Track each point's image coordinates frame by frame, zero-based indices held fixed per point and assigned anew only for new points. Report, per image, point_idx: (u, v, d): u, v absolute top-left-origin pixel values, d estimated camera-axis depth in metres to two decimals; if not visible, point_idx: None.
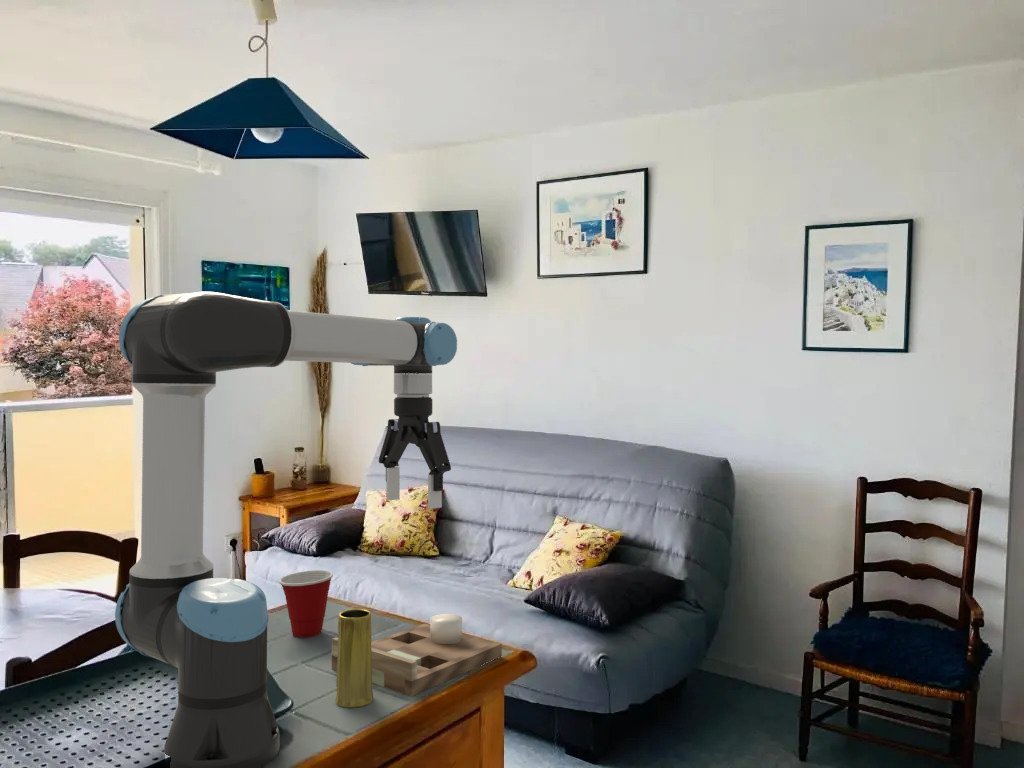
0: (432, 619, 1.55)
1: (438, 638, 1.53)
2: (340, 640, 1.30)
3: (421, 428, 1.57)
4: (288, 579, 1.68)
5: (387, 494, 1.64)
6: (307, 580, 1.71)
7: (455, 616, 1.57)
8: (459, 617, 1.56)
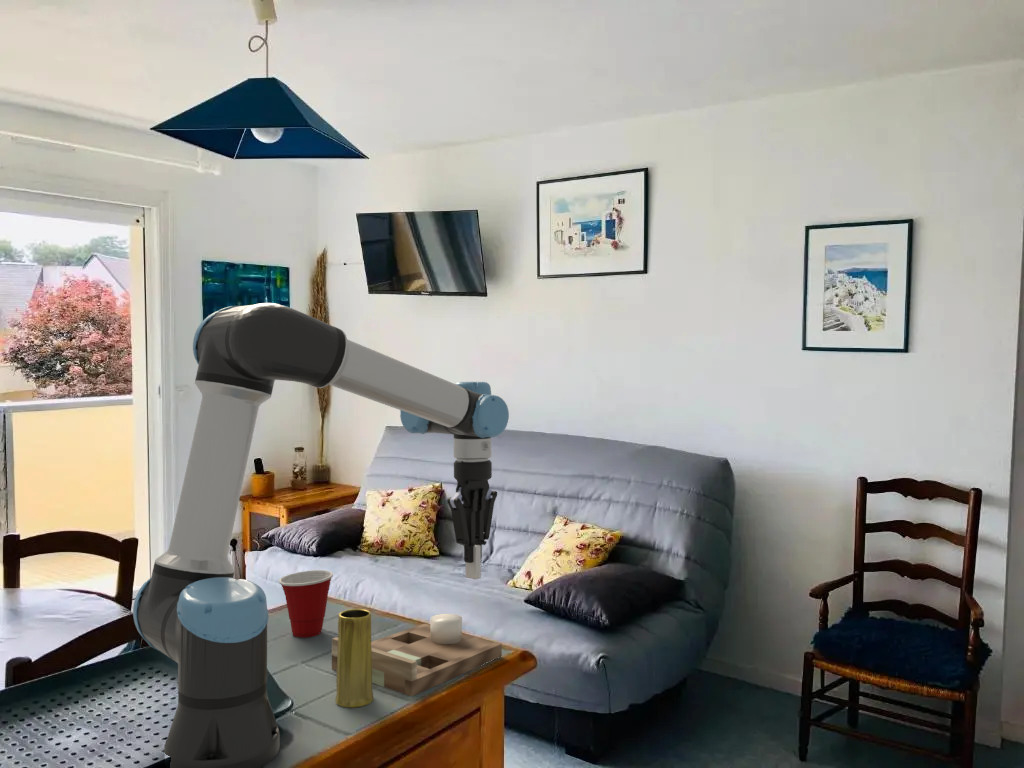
0: (432, 619, 1.55)
1: (438, 638, 1.53)
2: (340, 640, 1.30)
3: None
4: (288, 579, 1.68)
5: None
6: (307, 580, 1.71)
7: (455, 616, 1.57)
8: (459, 617, 1.56)
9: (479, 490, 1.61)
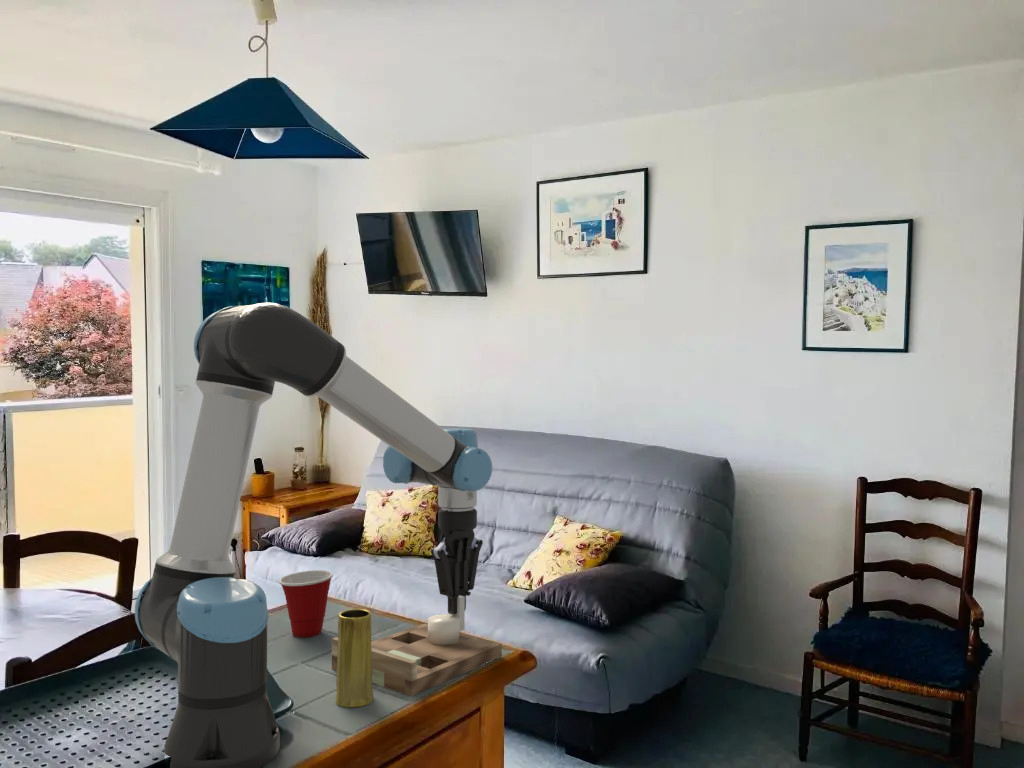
0: (429, 619, 1.54)
1: (435, 639, 1.53)
2: (340, 640, 1.30)
3: None
4: (288, 579, 1.68)
5: None
6: (307, 580, 1.71)
7: (453, 617, 1.56)
8: (457, 618, 1.56)
9: (464, 540, 1.58)
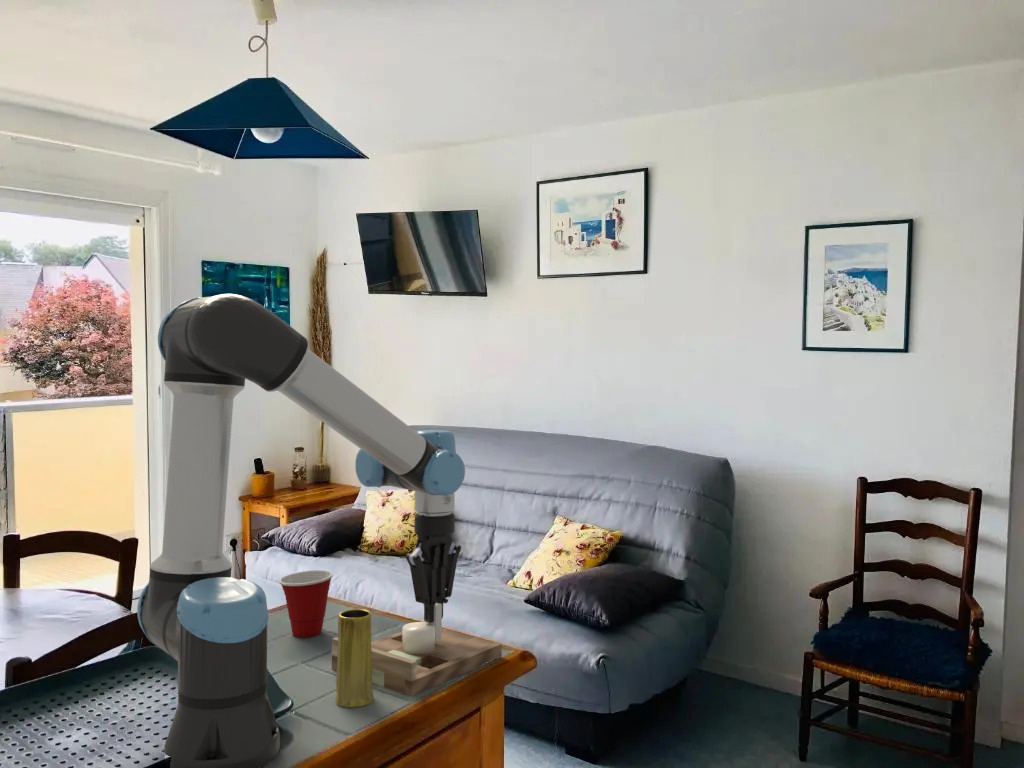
0: (404, 627, 1.50)
1: (408, 648, 1.48)
2: (340, 640, 1.30)
3: None
4: (288, 579, 1.68)
5: None
6: (307, 580, 1.71)
7: (429, 625, 1.51)
8: (432, 626, 1.50)
9: (441, 545, 1.53)
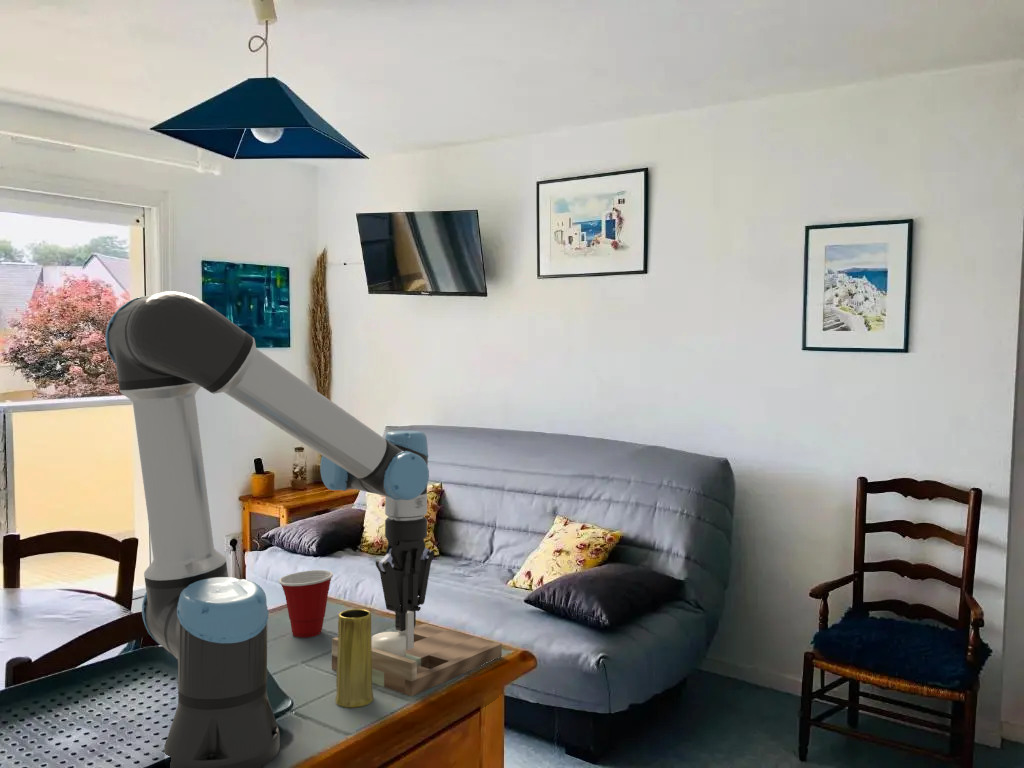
0: (373, 637, 1.44)
1: None
2: (340, 640, 1.30)
3: None
4: (288, 579, 1.68)
5: None
6: (307, 580, 1.71)
7: (400, 635, 1.45)
8: (403, 636, 1.45)
9: (413, 551, 1.47)
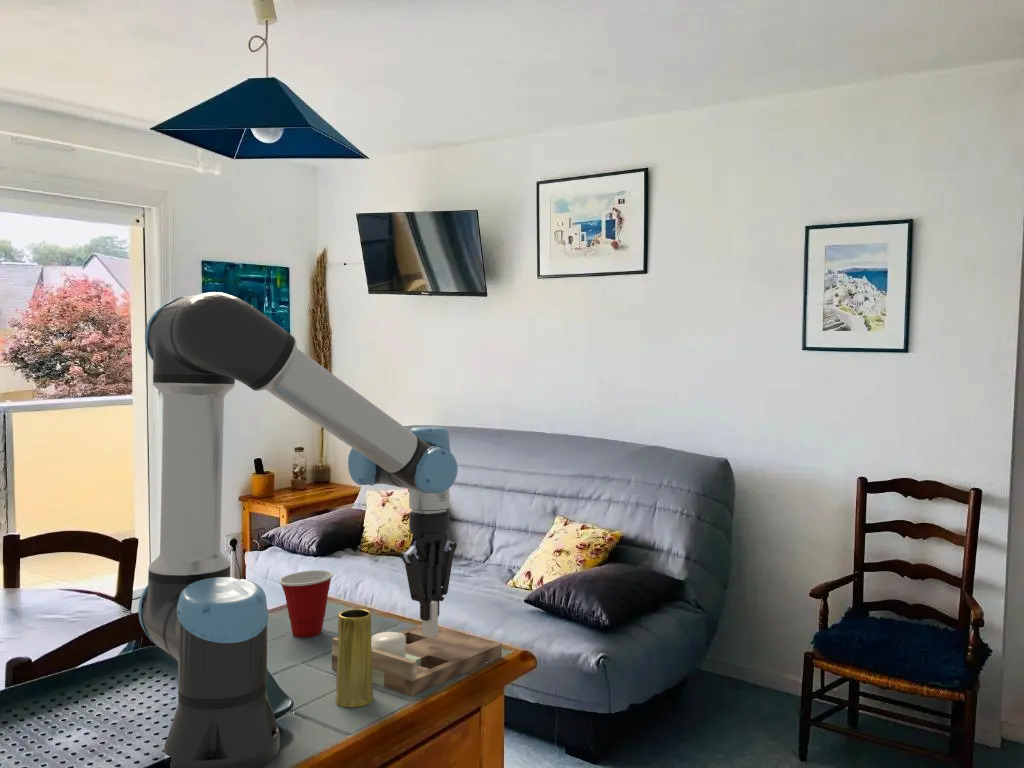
0: (373, 637, 1.44)
1: None
2: (340, 640, 1.30)
3: None
4: (288, 579, 1.68)
5: None
6: (307, 580, 1.71)
7: (399, 635, 1.45)
8: (403, 636, 1.44)
9: (436, 543, 1.51)
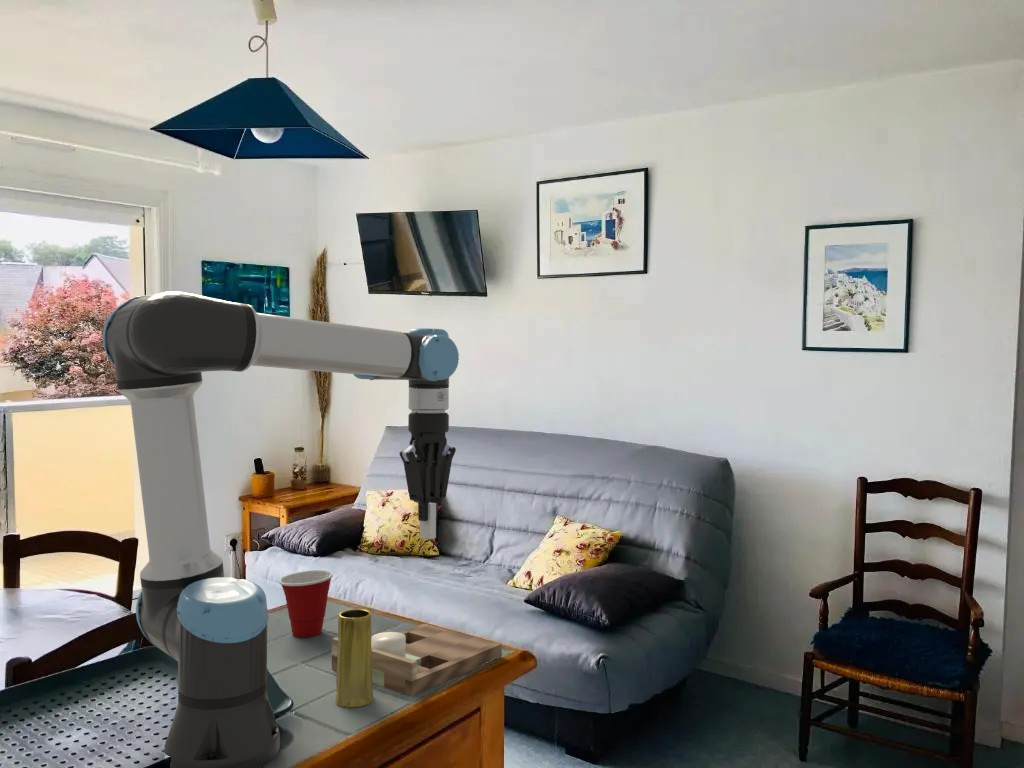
0: (373, 637, 1.44)
1: None
2: (340, 640, 1.30)
3: None
4: (288, 579, 1.68)
5: None
6: (307, 580, 1.71)
7: (399, 635, 1.45)
8: (403, 636, 1.44)
9: (435, 444, 1.52)
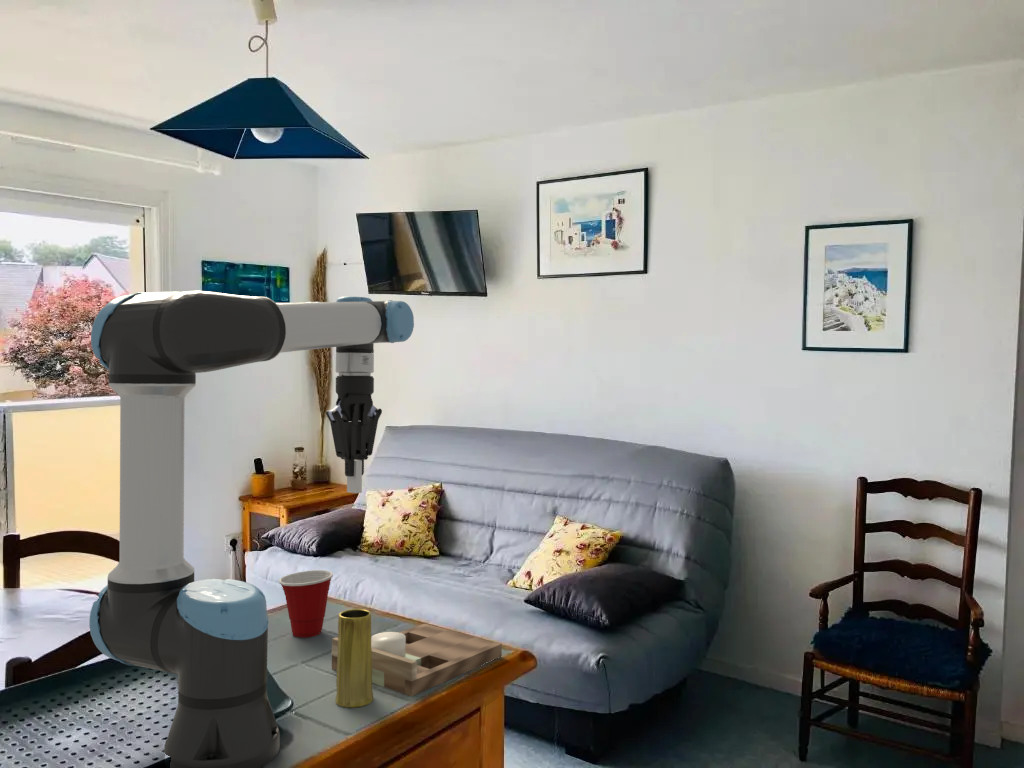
0: (373, 637, 1.44)
1: None
2: (340, 640, 1.30)
3: None
4: (288, 579, 1.68)
5: None
6: (307, 580, 1.71)
7: (399, 635, 1.45)
8: (403, 636, 1.44)
9: (361, 405, 1.63)
